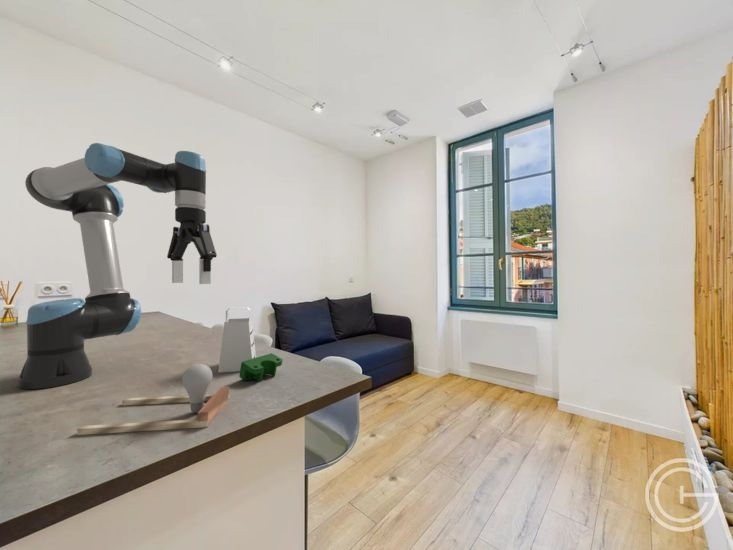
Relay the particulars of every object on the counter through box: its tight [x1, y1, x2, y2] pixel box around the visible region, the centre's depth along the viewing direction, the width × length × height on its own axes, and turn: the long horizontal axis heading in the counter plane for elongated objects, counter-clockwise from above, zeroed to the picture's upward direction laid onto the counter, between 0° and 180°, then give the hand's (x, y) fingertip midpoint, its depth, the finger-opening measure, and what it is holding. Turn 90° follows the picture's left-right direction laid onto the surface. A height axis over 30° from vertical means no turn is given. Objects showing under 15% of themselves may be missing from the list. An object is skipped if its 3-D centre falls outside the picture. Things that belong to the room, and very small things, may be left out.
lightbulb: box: [181, 363, 214, 414], centre depth 69 cm, size 6×6×11 cm
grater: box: [217, 306, 257, 373], centre depth 102 cm, size 10×10×20 cm
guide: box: [77, 386, 230, 436], centre depth 68 cm, size 24×14×3 cm, turn 98°
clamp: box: [238, 352, 283, 383], centre depth 92 cm, size 12×6×9 cm, turn 142°
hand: (190, 283), depth 86 cm, fingers open, 13 cm apart
